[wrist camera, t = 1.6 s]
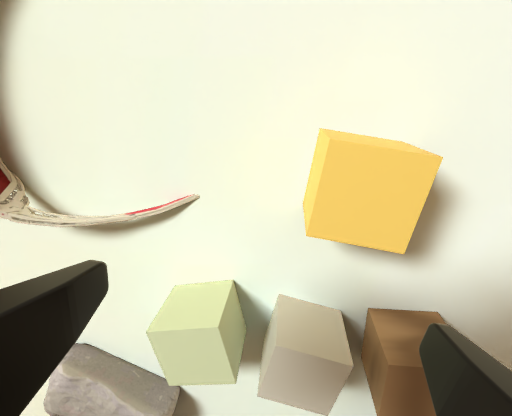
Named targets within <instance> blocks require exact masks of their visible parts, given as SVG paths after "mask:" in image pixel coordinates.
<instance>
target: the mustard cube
mask: <svg viewBox="0 0 512 416" xmlns="http://www.w3.org/2000/svg"><path fill="white" fill-rule="evenodd" d="M442 159H443V157H441V156H438V155H436V154H433V153H430V152H428V151H425V150H423V149H420V148H417V147H415V146H412V145H410V144H407V143H404V142H401V141H395V140H389V139H383V138H377V137H370V136H364V135H358V134H352V133H346V132H340V131H334V130H328V129H322V128H320V130H319V134H318V139H317V143H316V148H315V152H314V156H313V161H312V165H311V170H310V174H309V179H308V183H307V187H306V192H305V196H304V201H303V209H304V219H305V228H306V236H309V237H315V238H320V239H325V240H331V241H336V242H341V243H347V244H352V245H357V246H363V247H368V248H373V249H379V250H384V251H389V252H395V253H400V254H404V253H405V251H406V248H407V246H408V243H409V241H410V238H411V236H412V233H413V231H414V228H415V226H416V223H417V221H418V218H419V216H420V213H421V211H422V208H423V206H424V203H425V201H426V199H427V196H428V194H429V191H430V189H431V186H432V184H433V181H434V179H435V176H436V174H437V171H438V169H439V166H440V164H441V161H442Z"/></svg>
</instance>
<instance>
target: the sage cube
mask: <svg viewBox="0 0 512 416" xmlns="http://www.w3.org/2000/svg"><path fill="white" fill-rule="evenodd" d="M246 330H247V328H246V325H245V321H244V317H243V313H242V310H241V306H240V302H239V299H238V295H237V291H236V288H235V284H234V280H225V281H215V282H206V283H196V284H186V285H176V286H174V288H173V290H172V291H171V293H170V294H169V296H168V298H167V299H166V301H165V302H164V304H163V306H162V307H161V309H160V310H159V312H158V314H157V315H156V317H155V318H154V320H153V322H152V323H151V325H150V326H149V328H148V330H147V331H146V334H147V336H148V338H149V340H150V343H151V345H152V347H153V350H154V352H155V354H156V357H157V359H158V361H159V364H160V366H161V368H162V371H163V373H164V375H165V378H166V380H167V382H168V385H169V386H179V385H212V384H236V381H237V376H238V371H239V365H240V360H241V355H242V350H243V345H244V340H245V335H246Z"/></svg>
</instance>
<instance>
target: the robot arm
mask: <svg viewBox="0 0 512 416" xmlns="http://www.w3.org/2000/svg"><path fill="white" fill-rule="evenodd" d="M107 291H108V274H107V265H106V264H105V263H104V262H101V261H96V260H88V261H85V262H82V263H79V264H76V265H73V266H70V267H67V268H64V269H61V270H58V271H55V272H51V273H48V274H45V275H42V276H39V277H36V278H33V279H30V280H27V281H24V282H21V283H18V284H15V285H12V286H9V287H6V288H3V289H0V416H19V415H20V414H21V413H22V411H23V410H24V409H25V408H26V406H27V405H28V404H29V402H30V401H31V400H32V399H33V397H34V396H35V395H36V393H37V392H38V391H39V389H40V388H41V387H42V386H43V384H44V383H45V382H46V380H47V379H48V378H49V377H50V375H51V374H52V373H53V371H54V370H55V369H56V367H57V366H58V365H59V364H60V362H61V361H62V360H63V358H64V357H65V356H66V354H67V353H68V352H69V351H70V349H71V348H72V346H73V345H74V344H75V342H76V341H77V339H78V338H79V336H80V335H81V333H82V332H83V330H84V329H85V327H86V325H87V324H88V322H89V321H90V319H91V318H92V316H93V314H94V313H95V311H96V310H97V308H98V307H99V305H100V303H101V302H102V300H103V299H104V297H105V295H106V294H107ZM419 354H420V358H421V362H422V366H423V370H424V373H425V377H426V381H427V384H428V388H429V392H430V396H431V399H432V403H433V407H434V410H435V413H436V416H512V371H511V370H509V369H508V368H507V367H505V366H504V365H502V364H501V363H500V362H498V361H497V360H496V359H494V358H493V357H492V356H490V355H489V354H487V353H486V352H485V351H483V350H482V349H481V348H479V347H478V346H477V345H475V344H474V343H473V342H471V341H470V340H468V339H467V338H466V337H464V336H463V335H462V334H460V333H459V332H458V331H456V330H455V329H454V328H452V327H451V326H449V325H445V324H440V323H431V324H430V325H429V326H428V328H427V330H426V332H425V334H424V337H423V339H422V341H421V343H420V346H419Z"/></svg>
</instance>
